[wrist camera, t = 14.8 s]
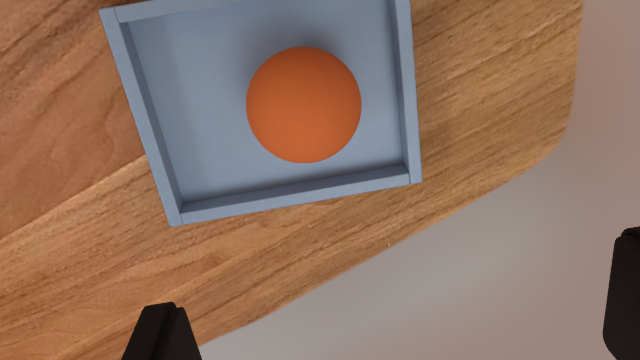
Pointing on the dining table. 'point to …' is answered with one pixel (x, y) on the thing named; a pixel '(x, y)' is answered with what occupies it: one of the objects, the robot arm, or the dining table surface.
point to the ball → (303, 104)
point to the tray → (231, 90)
